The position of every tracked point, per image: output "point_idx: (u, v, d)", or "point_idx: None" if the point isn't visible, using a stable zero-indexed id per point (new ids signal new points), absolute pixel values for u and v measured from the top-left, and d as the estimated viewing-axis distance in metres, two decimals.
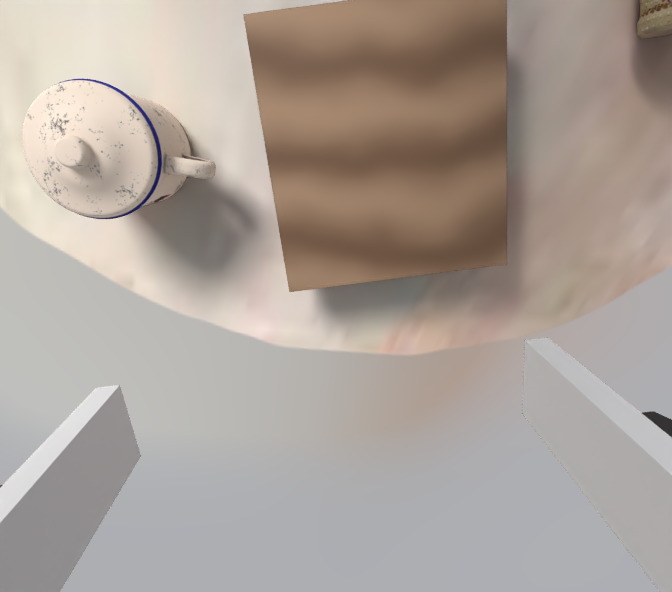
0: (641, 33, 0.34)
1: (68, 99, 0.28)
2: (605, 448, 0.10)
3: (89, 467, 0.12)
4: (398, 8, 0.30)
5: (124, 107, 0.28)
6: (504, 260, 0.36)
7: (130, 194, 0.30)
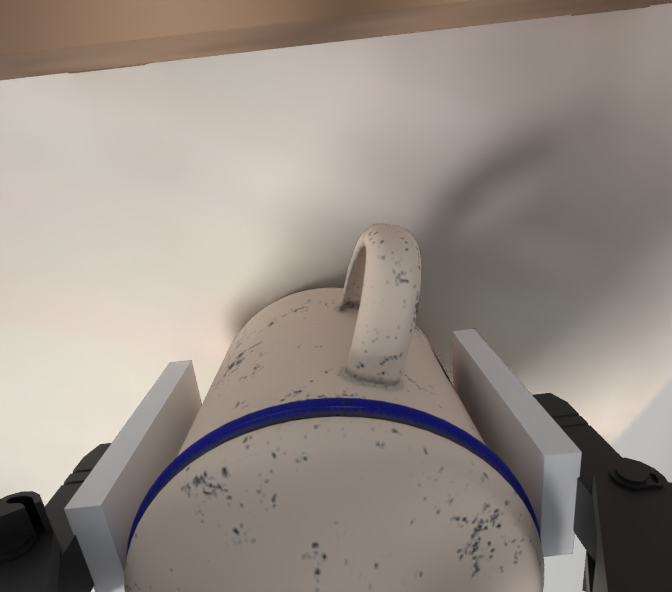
0: None
1: None
2: (500, 424, 0.11)
3: (175, 430, 0.13)
4: None
5: (187, 508, 0.08)
6: None
7: (487, 525, 0.08)
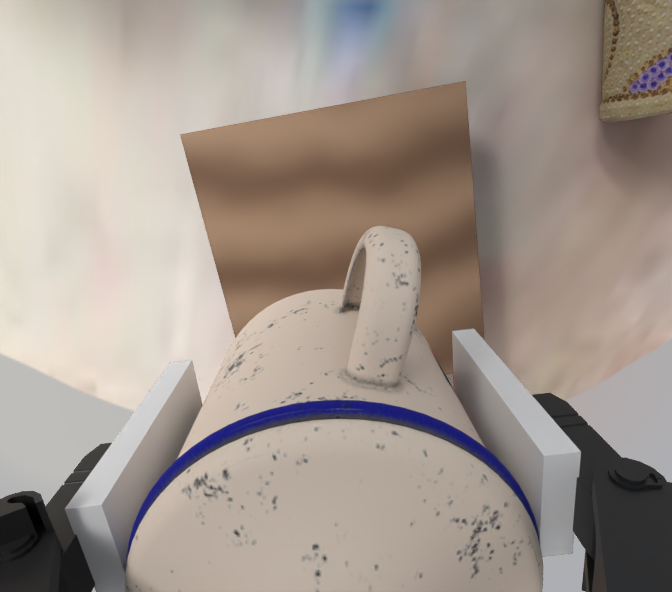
0: (602, 119, 0.31)
1: None
2: (500, 424, 0.11)
3: (175, 430, 0.13)
4: (348, 118, 0.27)
5: (188, 510, 0.08)
6: None
7: (487, 527, 0.08)
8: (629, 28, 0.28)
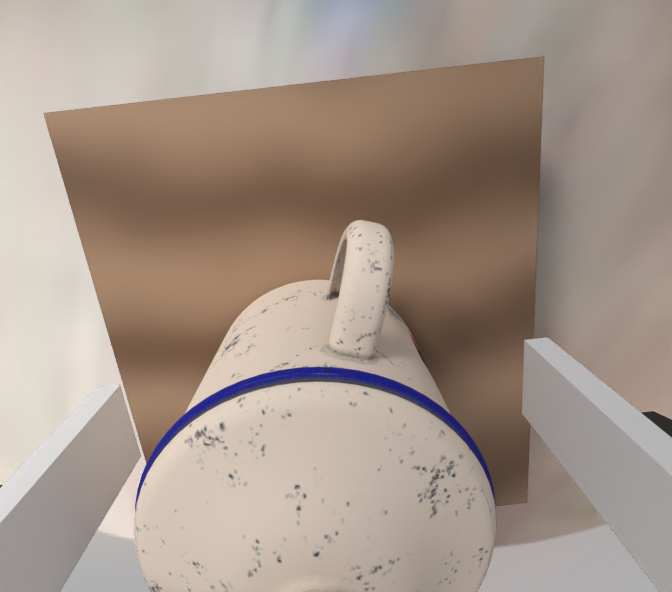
0: None
1: (179, 585, 0.10)
2: (605, 448, 0.10)
3: (89, 467, 0.12)
4: (339, 105, 0.16)
5: (190, 458, 0.09)
6: (523, 497, 0.22)
7: (444, 475, 0.10)
8: None
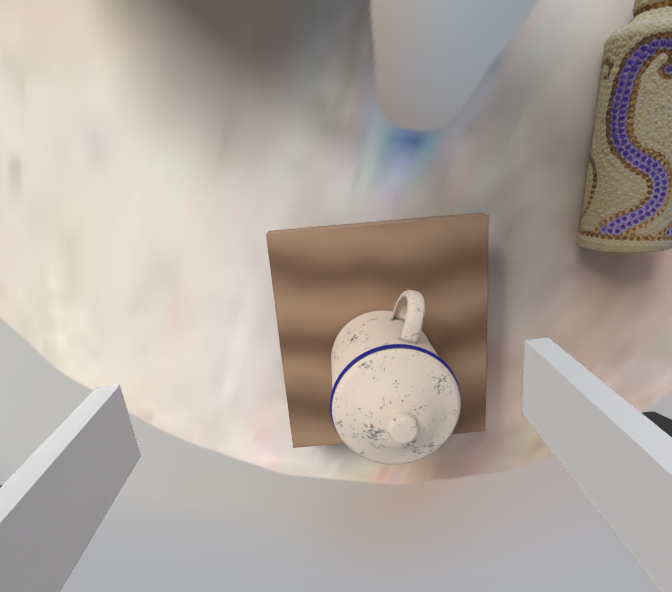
0: (578, 245, 0.40)
1: (350, 419, 0.29)
2: (605, 448, 0.10)
3: (89, 467, 0.12)
4: (397, 233, 0.35)
5: (359, 372, 0.28)
6: (483, 428, 0.41)
7: (442, 380, 0.29)
8: (603, 186, 0.37)
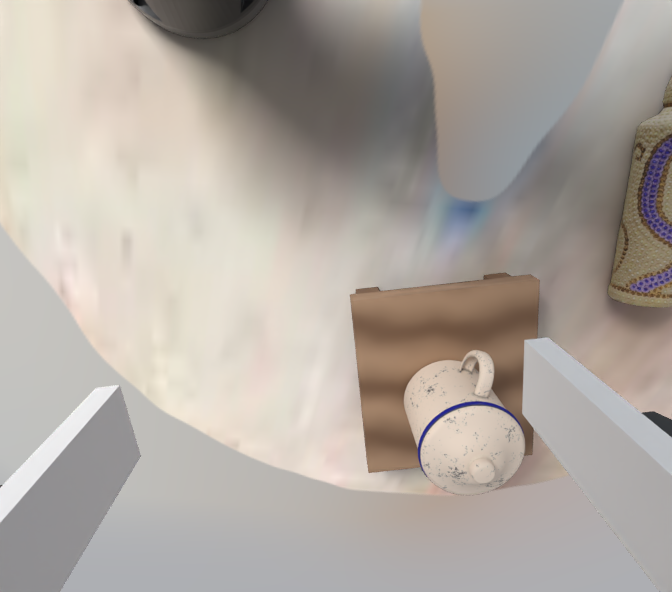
0: (610, 296, 0.46)
1: (436, 462, 0.36)
2: (605, 448, 0.10)
3: (89, 467, 0.12)
4: (461, 297, 0.42)
5: (445, 425, 0.35)
6: (530, 452, 0.48)
7: (512, 430, 0.35)
8: (634, 251, 0.43)
